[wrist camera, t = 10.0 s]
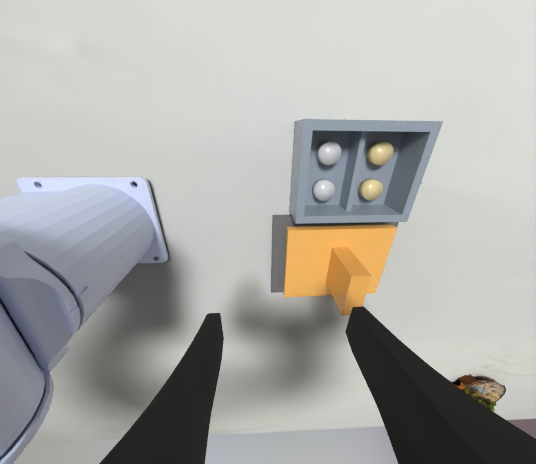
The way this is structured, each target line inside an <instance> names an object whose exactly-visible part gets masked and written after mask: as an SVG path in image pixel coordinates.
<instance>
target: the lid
mask: <svg viewBox="0 0 536 464" xmlns="http://www.w3.org/2000/svg"><path fill="white" fill-rule="evenodd" d="M396 230H397V228H396V227H395V226H393V225H355V226H311V227H287V237H286V255H285V273H284V291H283V293H284V297H301V296H323V295H332V296H333V298H334V300H335V302H336V304H337V307H338V309H339V311H340V313H341V315H350V314H351V311H352V307H362V305H363V302H364V299H365V296H366V294H368V293H375V292H376V289H377V286H378V283H379V280H380V277H381V274H382V271H383V268H384V265H385V262H386V259H387V256H388V253H389V250H390V247H391V244H392V242H393V239H394V236H395V233H396Z"/></svg>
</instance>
